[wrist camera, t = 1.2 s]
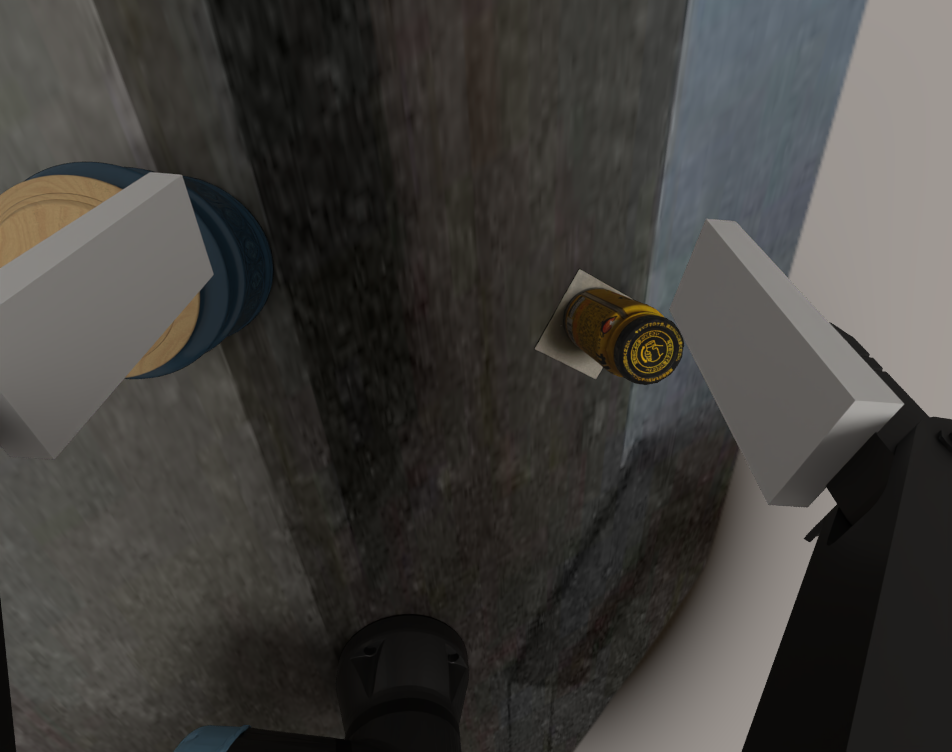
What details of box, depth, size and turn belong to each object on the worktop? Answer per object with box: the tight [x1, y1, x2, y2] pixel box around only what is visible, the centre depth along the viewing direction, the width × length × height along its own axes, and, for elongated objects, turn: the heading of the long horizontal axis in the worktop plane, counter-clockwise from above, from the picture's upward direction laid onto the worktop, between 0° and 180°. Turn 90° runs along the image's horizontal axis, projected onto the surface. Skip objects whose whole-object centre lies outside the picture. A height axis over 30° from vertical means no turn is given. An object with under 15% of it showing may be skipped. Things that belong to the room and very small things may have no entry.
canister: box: [0, 162, 274, 379], centre depth 32 cm, size 13×13×18 cm
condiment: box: [535, 269, 684, 385], centre depth 41 cm, size 7×8×12 cm
